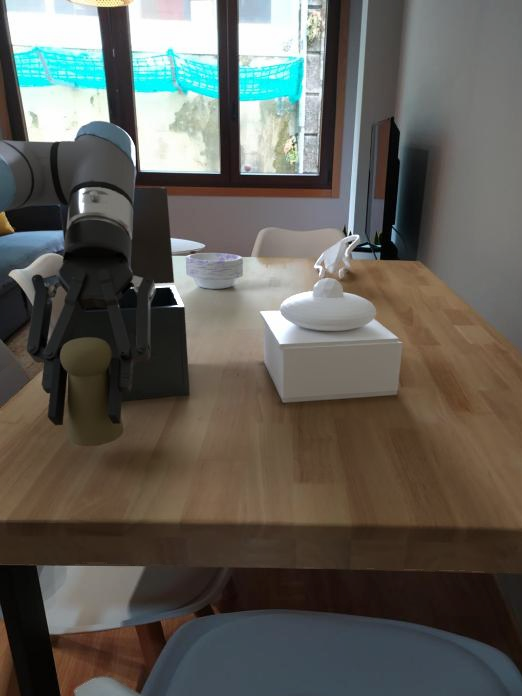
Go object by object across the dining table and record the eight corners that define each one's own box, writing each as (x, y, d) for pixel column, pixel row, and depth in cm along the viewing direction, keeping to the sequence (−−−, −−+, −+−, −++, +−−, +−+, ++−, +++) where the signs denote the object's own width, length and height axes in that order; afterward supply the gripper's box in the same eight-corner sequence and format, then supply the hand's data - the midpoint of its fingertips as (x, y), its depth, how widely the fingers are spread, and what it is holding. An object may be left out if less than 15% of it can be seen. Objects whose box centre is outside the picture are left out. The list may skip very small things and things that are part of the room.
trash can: (189, 394, 80) (184, 306, 75) (77, 405, 76) (63, 313, 71) (179, 363, 92) (174, 285, 87) (81, 371, 88) (70, 290, 83)
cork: (58, 431, 61) (44, 338, 57) (109, 416, 65) (100, 328, 61) (80, 452, 57) (66, 353, 53) (133, 435, 61) (124, 342, 57)
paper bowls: (248, 281, 154) (248, 252, 151) (235, 293, 140) (235, 262, 137) (196, 278, 156) (195, 250, 153) (179, 290, 142) (177, 259, 139)
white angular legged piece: (373, 277, 152) (371, 250, 170) (355, 251, 149) (355, 226, 167) (324, 308, 159) (327, 279, 177) (305, 284, 156) (311, 257, 174)
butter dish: (397, 394, 81) (408, 289, 75) (279, 403, 78) (280, 293, 72) (359, 355, 97) (366, 266, 91) (260, 361, 94) (260, 268, 88)
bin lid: (166, 187, 83) (166, 188, 84) (57, 187, 79) (58, 187, 80) (174, 282, 86) (173, 282, 87) (69, 287, 82) (70, 287, 83)
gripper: (7, 214, 61) (-24, 410, 52) (174, 217, 63) (170, 405, 54) (30, 254, 67) (5, 433, 59) (179, 256, 70) (176, 428, 61)
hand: (84, 419), depth 56 cm, fingers closed on cork, 5 cm apart
